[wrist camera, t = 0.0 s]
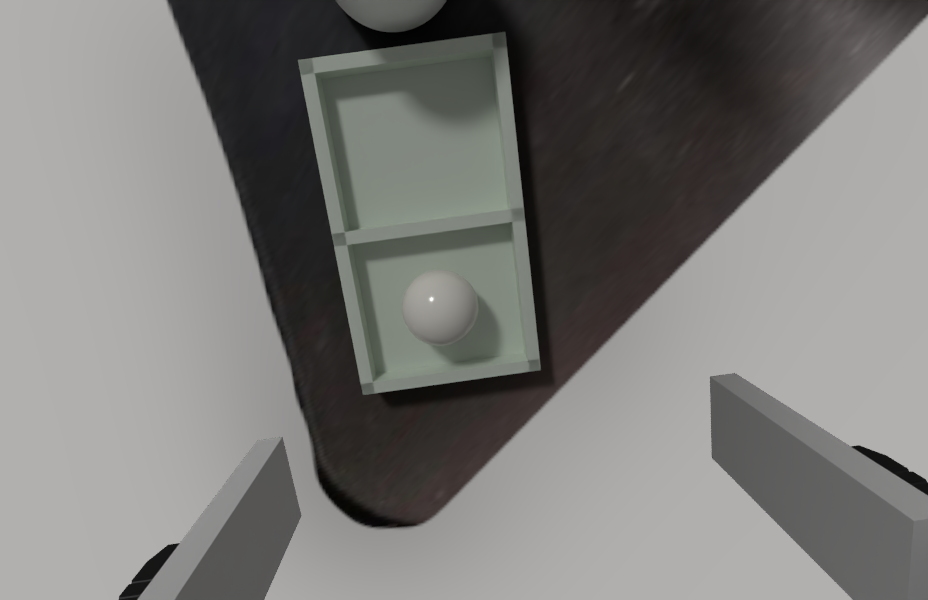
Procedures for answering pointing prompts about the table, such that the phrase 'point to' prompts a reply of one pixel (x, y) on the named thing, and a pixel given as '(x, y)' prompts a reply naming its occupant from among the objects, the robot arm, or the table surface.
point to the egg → (440, 307)
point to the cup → (391, 13)
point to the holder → (425, 202)
